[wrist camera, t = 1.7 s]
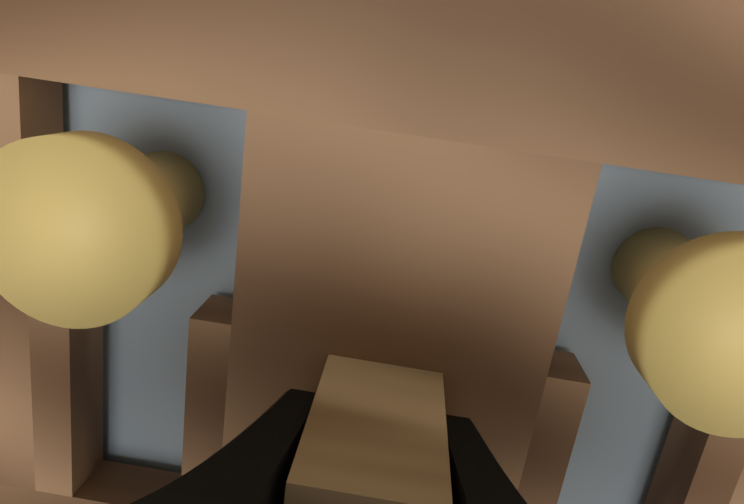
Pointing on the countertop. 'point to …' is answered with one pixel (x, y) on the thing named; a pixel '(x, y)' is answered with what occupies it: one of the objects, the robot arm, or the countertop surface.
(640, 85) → the panel
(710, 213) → the boss board
